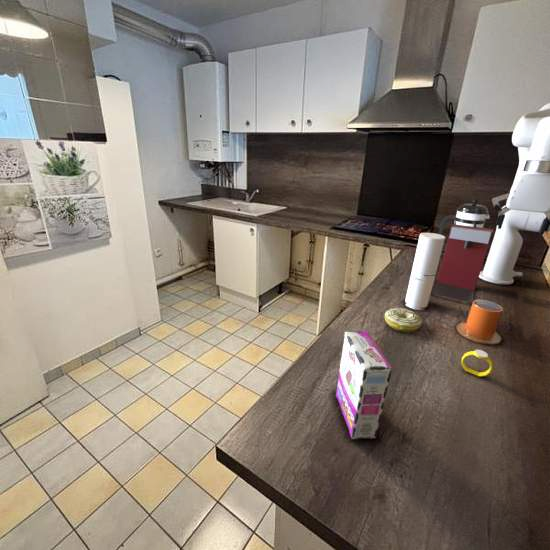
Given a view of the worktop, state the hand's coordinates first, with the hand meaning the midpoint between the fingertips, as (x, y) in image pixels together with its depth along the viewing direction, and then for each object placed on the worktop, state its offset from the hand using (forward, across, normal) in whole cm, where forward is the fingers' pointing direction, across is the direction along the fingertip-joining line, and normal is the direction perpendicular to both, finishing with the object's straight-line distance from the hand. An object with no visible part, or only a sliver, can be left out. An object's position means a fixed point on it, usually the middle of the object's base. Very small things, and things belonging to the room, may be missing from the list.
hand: (519, 230), depth 84 cm
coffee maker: (+29, +12, -14) cm, 34 cm away
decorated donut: (+28, +22, +24) cm, 43 cm away
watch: (+28, +2, +36) cm, 46 cm away
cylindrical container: (+29, +21, +8) cm, 37 cm away
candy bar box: (+28, +21, +65) cm, 74 cm away
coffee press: (+30, +16, -59) cm, 68 cm away
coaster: (+28, +2, +15) cm, 32 cm away
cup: (+28, +2, +15) cm, 32 cm away
